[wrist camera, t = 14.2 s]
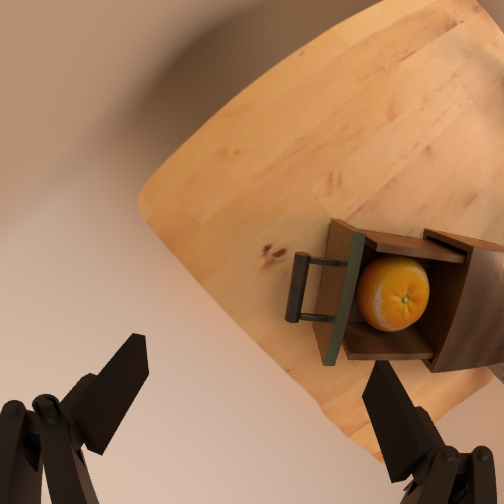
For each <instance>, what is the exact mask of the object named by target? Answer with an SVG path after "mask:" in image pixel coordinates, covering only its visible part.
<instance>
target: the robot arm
mask: <svg viewBox="0 0 504 504" xmlns="http://www.w3.org/2000/svg"><path fill="white" fill-rule="evenodd" d="M148 375H149V369H148V360H147V350H146V339H145V336H144V335H140V334H135V333H132V335H131V336H130V337H129V338H128V339H127V340H126V342H125V343H124V344H123V345H122V346H121V348H120V349H119V350H118V351H117V352H116V354H115V355H114V356H113V357H112V358H111V359H110V361H109V362H108V363H107V364H106V365H105V367H104V368H103V369H102V370H101V372H100V373H99V374H98V375H94V374H92V373H89V374H87V375H85V376H84V377H82V378H81V379H80V380H79V381H78V382H77V384H76V385H75V386H74V387H73V388H72V390H70V392H69V393H68V394H67V395H66V396H65V397H64V399H63V400H62V401H61V402H60V403H59V400H58V399H57V398H56V397H55V396H53V395H51V394H42V395H39V396H38V397H36V398H35V399H34V400H33V402H32V407H33V409H34V411H35V412H34V411H30V410H26V408H25V406H24V404H23V403H22V402H20V401H18V400H11V401H8V402H7V403H6V404H4V406H3V408H2V411H1V413H0V504H41V487H42V474H43V464H44V469H45V474H46V479H47V484H48V489H49V494H50V498H51V502H52V504H99V502H98V499H97V496H96V494H95V491H94V488H93V485H92V482H91V479H90V476H89V473H88V470H87V466H86V463H85V459H84V456H83V452H82V450H81V447H82V445H83V444H84V443H85V445H86V447H87V449H88V450H90V451H92V452H95V453H97V454H99V455H103V453H104V451H105V449H106V448H107V446H108V444H109V442H110V441H111V439H112V437H113V435H114V434H115V432H116V430H117V428H118V426H119V425H120V423H121V421H122V420H123V418H124V416H125V414H126V413H127V411H128V409H129V407H130V406H131V404H132V402H133V401H134V399H135V397H136V396H137V394H138V392H139V390H140V389H141V387H142V385H143V384H144V382H145V380H146V379H147V377H148ZM362 398H363V401H364V404H365V406H366V409H367V412H368V415H369V417H370V420H371V423H372V426H373V429H374V431H375V434H376V437H377V440H378V443H379V446H380V449H381V452H382V455H383V458H384V461H385V464H386V467H387V470H388V473H389V476H390V480H391V483H395V482H399V481H404V480H406V479H407V478H408V477H409V476H410V475H411V474H412V475H413V478H414V479H413V480H412V481H411V482H410V483H409V484H408V485H407V486H406V487H405V489H404V490H403V491H405V490H406V489H407V488H408V489H407V491H406V493H405V495H404V497H403V499H402V501H401V503H400V504H497V492H496V477H495V468H494V460H493V454H492V451H491V450H490V449H489V448H487V447H485V446H478V447H476V448H475V449H474V450H473V451H472V452H471V453H459V452H458V451H457V450H456V449H455V448H454V447H452V446H446V445H445V443H444V441H443V440H442V438H441V436H440V434H439V432H438V430H437V429H436V427H435V426H434V423H433V421H431V418H430V416H429V414H428V412H427V411H425V410H424V409H423V408H422V407H421V406H418V407H414V405H413V403H412V401H411V400H410V398H409V396H408V394H407V392H406V391H405V389H404V387H403V385H402V384H401V382H400V380H399V378H398V377H397V375H396V373H395V371H394V370H393V368H392V366H391V364H390V363H389V361H388V360H376V362H375V365H374V367H373V370H372V373H371V375H370V378H369V380H368V383H367V385H366V388H365V390H364V393H363V395H362Z"/></svg>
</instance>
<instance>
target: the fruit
mask: <svg viewBox="0 0 504 504" xmlns="http://www.w3.org/2000/svg"><path fill="white" fill-rule="evenodd" d="M428 298H429V283H428V278H427V275H426V272H425V271H424V269H423V267H422V266H421V265H420V264H419V263H418V262H417V261H416V260H414V259H413V258H411V257H409V256H406V255H398V254H387V255H384V256H381V257H379V258H377V259H375V260H374V261H372V262H371V263H369V264H368V265H367V266H366V267H365V269H364V270H363V272H362V275H361V277H360V279H359V282H358V284H357V287H356V303H357V307H358V309H359V311H360V313H361V315H362V316H363V318H364V319H365V320H366V322H367V323H368V324H370V325H371V326H372V327H374V328H376V329H378V330H382V331H387V332H394V331H399V330H402V329H404V328H406V327H408V326H410V325H411V324H413V323H414V322H416V321H417V320H418V319H419V318H420V317H421V315H422V314H423V312H424V310H425V308H426V305H427V303H428Z"/></svg>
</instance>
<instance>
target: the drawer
mask: <svg viewBox="0 0 504 504" xmlns="http://www.w3.org/2000/svg"><path fill="white" fill-rule="evenodd" d="M387 254H398V255H406V256H409V257H411V258H413V259H414V260H416V261H417V262H418V263H419V264H420V265H421V266H422V267H423V269H424V271H425V272H426V275H427V278H428V283H429V298H428V303H427V305H426V308H425V310H424V312H423V314H422V315H421V317H420V318H419V319H418V320H417V321H416V322H414V323H413V324H411V325H410V326H408V327H406V328H404V329H402V330H399V331H394V332H387V331H382V330H378V329H376V328H374V327H372V326H371V325H370V324H368V323H367V322H366V320H365V319H364V318H363V316H362V315H361V313H360V311H359V309H358V307H357V303H356V287H357V284H358V282H359V279H360V277H361V275H362V272H363V270H364V269H365V267H366V266H367V265H368V264H369V263H371V262H372V261H374V260H375V259H377V258H379V257H381V256H384V255H387ZM466 258H467V255H465V254H463V253H461V252H459V251H456V250H454V249H452V248H449V247H447V246H445V245H442V244H440V243H438V242H435V241H430V240H424V239H419V238H413V237H407V236H401V235H395V234H389V233H382V232H376V231H370V230H363V229H357V228H356V227H354V226H352V225H350V224H348V223H346V222H344V221H342V220H339V219H331V226H330V232H329V239H328V245H327V251H326V257H325V258H321V257H313V256H311V255H310V254H308V253H305V252H296V253H295V257H294V263H293V270H292V277H291V283H290V289H289V296H288V302H287V308H286V314H285V320H286V321H287V322H290V323H297V322H299V319H300V320H306V321H313V324H312V325H313V329H314V333H315V336H316V340H317V344H318V347H319V351H320V355H321V359H322V362H323V366H335V363H336V359H337V356H338V353H339V349H340V346H341V343H342V346H343V348H344V351H345V353H346V355H347V358H348V360H414V359H434V357H435V354H436V352H437V349H438V347H439V345H440V342H441V340H442V337H443V334H444V332H445V329H446V326H447V323H448V321H449V318H450V315H451V312H452V309H453V306H454V303H455V299H456V296H457V293H458V289H459V286H460V282H461V278H462V275H463V271H464V267H465V263H466ZM309 263H310V264H319V265H324V269H323V274H322V280H321V285H320V290H319V295H318V300H317V305H316V310H315V314H309V313H301V308H302V303H303V297H304V292H305V286H306V280H307V274H308V268H309Z"/></svg>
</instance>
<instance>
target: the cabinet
mask: <svg viewBox="0 0 504 504" xmlns="http://www.w3.org/2000/svg"><path fill="white" fill-rule="evenodd" d="M423 239H424V240H430V241H435V242H438V243H440V244H442V245H445V246H447V247H449V248H452V249H454V250H456V251H459V252H461V253H463V254H465V255H467V258H466V263H465V267H464V271H463V275H462V278H461V282H460V286H459V289H458V293H457V296H456V299H455V303H454V306H453V309H452V312H451V315H450V318H449V321H448V323H447V326H446V329H445V332H444V334H443V337H442V340H441V342H440V345H439V347H438V349H437V352H436V354H435V357H434V359H421V360H422V361H423V362H424V364H425V365H426V367H427V368H428V369H429V370H430V372H431V373H438V372H448V371H456V370H464V369H471V368H478V367H484V366H490V365H495V364H500V363H504V247H503V246H501V245H498V244H495V243H490V242H486V241H482V240H478V239H473V238H469V237H464V236H460V235H455V234H450V233H446V232H441V231H436V230H431V229H425V232H424V237H423Z"/></svg>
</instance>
